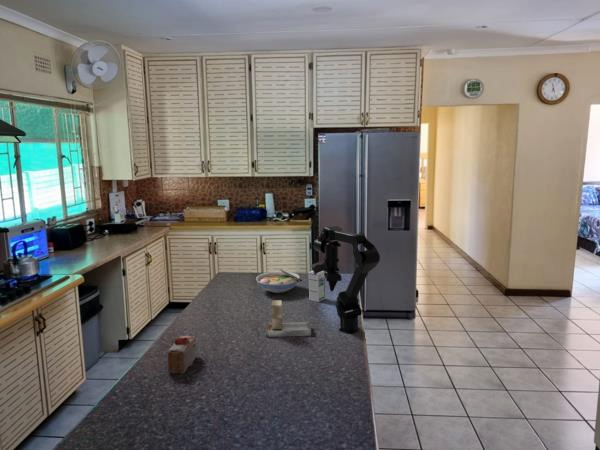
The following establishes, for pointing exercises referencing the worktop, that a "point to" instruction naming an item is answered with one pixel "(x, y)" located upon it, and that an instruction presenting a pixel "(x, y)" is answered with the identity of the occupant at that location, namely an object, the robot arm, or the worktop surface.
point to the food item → (182, 354)
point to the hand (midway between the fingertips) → (331, 291)
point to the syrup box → (316, 286)
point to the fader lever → (277, 315)
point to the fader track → (289, 329)
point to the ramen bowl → (278, 281)
